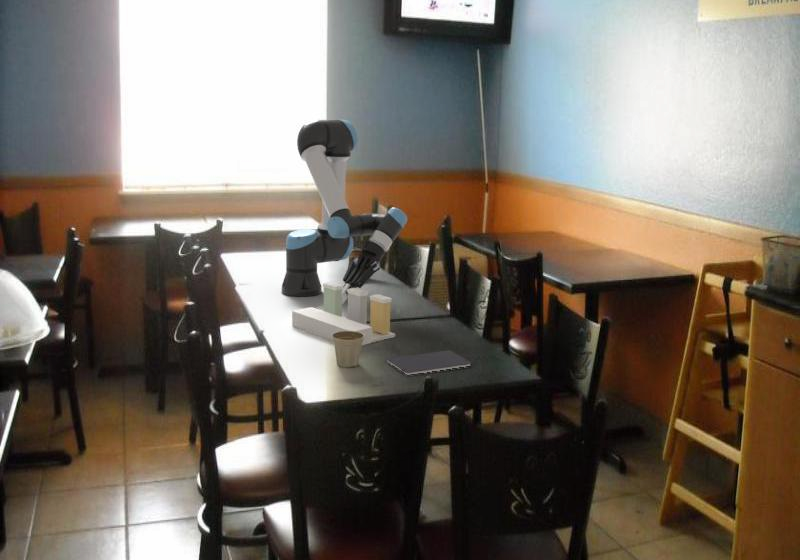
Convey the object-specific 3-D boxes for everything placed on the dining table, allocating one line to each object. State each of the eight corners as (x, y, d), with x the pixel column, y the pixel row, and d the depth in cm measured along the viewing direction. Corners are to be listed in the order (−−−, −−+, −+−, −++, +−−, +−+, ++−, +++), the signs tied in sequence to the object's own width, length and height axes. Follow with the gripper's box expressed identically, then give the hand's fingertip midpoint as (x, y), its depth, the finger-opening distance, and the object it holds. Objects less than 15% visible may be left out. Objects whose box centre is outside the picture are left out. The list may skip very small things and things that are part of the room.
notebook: (449, 355, 245) (386, 363, 236) (449, 350, 245) (386, 358, 235) (472, 368, 234) (406, 377, 225) (472, 362, 234) (406, 372, 224)
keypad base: (334, 316, 280) (334, 302, 279) (395, 336, 260) (395, 321, 258) (292, 325, 268) (292, 310, 267) (352, 347, 247) (352, 331, 246)
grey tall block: (354, 320, 271) (355, 287, 268) (367, 324, 267) (368, 291, 264) (346, 322, 269) (347, 289, 266) (359, 326, 264) (360, 292, 262)
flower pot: (331, 358, 237) (331, 330, 235) (363, 359, 237) (364, 330, 236) (331, 369, 228) (331, 340, 226) (364, 369, 228) (365, 340, 226)
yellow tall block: (376, 327, 263) (377, 294, 261) (390, 332, 259) (391, 298, 256) (369, 329, 261) (369, 295, 258) (382, 334, 257) (383, 299, 254)
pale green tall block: (330, 313, 278) (330, 281, 275) (342, 318, 273) (343, 285, 271) (322, 315, 275) (322, 283, 273) (334, 319, 271) (335, 286, 268)
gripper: (395, 256, 281) (358, 311, 273) (369, 250, 290) (332, 303, 282) (384, 243, 276) (346, 298, 268) (358, 237, 285) (321, 291, 277)
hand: (339, 301), depth 275 cm, fingers closed
